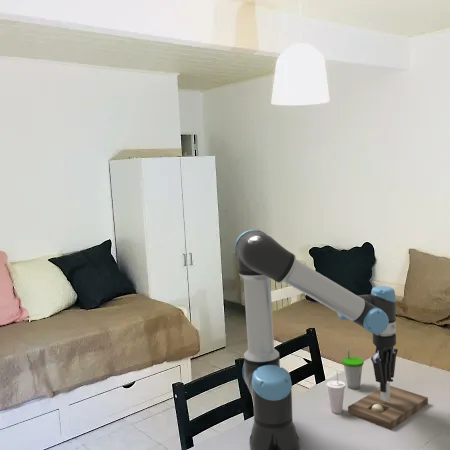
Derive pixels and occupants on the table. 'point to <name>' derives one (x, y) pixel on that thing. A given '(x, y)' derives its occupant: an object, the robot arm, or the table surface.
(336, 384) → the smoothie
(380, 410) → the ball
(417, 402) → the brown wooden flat board
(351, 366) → the cup
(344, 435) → the table surface
